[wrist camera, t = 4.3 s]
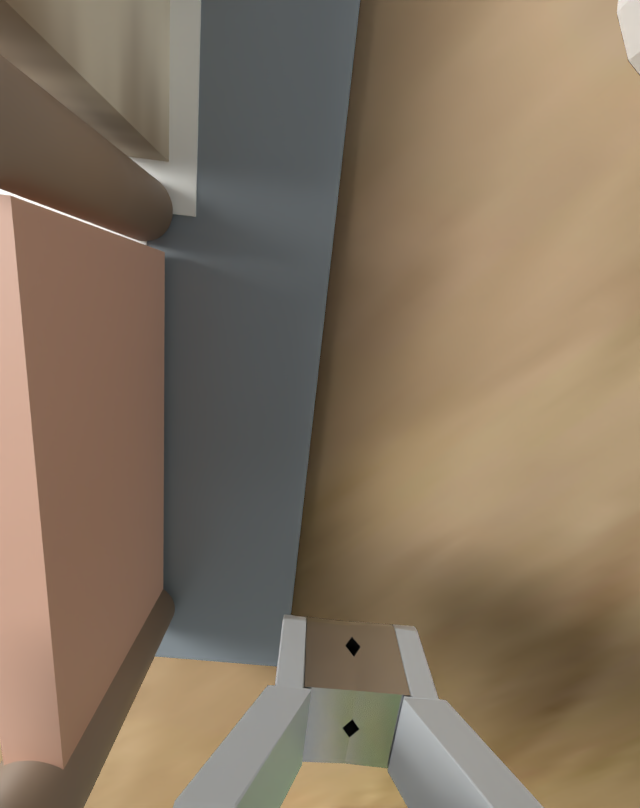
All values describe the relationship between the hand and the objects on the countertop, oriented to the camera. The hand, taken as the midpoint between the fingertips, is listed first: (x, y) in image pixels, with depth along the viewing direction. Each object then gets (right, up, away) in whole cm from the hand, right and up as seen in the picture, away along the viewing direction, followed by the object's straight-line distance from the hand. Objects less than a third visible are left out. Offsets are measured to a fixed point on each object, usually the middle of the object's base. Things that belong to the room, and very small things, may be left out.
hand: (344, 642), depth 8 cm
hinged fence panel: (-6, +4, +3) cm, 8 cm away
